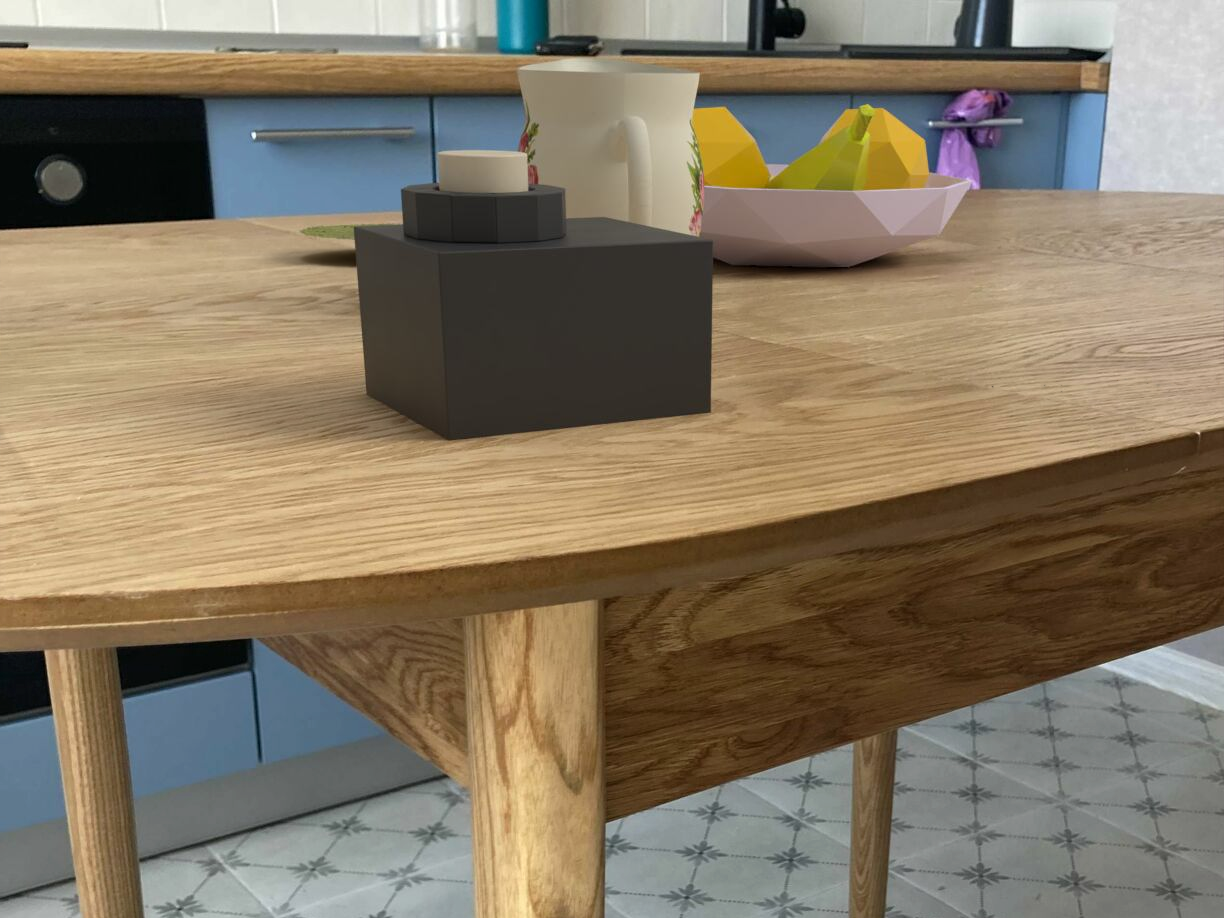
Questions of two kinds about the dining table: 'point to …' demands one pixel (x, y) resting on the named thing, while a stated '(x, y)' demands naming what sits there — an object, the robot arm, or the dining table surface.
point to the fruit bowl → (820, 193)
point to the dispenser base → (531, 315)
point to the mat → (335, 231)
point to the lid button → (482, 171)
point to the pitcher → (615, 140)
